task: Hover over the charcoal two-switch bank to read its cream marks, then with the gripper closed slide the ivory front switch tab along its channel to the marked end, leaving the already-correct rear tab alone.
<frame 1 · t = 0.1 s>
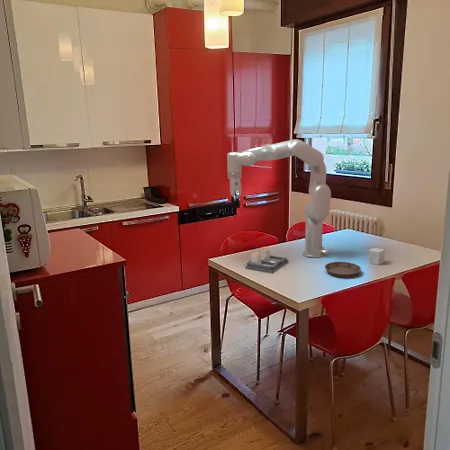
hand: (235, 206, 238), 31 cm above the table, fingers open, 9 cm apart
product box: (376, 263, 233), on the table
switch tab 2: (264, 253, 240), point 5 cm above the table, slide at 0.0 cm
switch bank: (267, 265, 235), on the table
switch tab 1: (256, 258, 232), point 5 cm above the table, slide at 0.0 cm
plant saucer: (342, 273, 220), on the table
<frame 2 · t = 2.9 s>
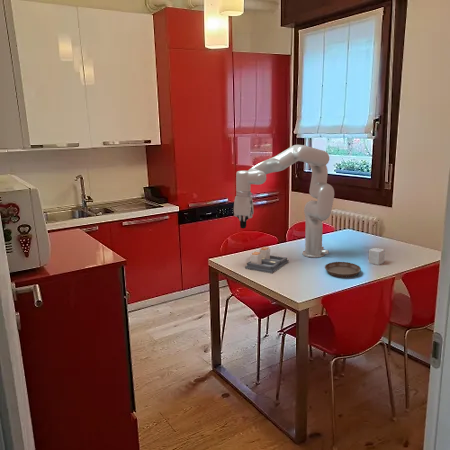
hand: (243, 227, 232), 21 cm above the table, fingers closed
nothing on the table moved.
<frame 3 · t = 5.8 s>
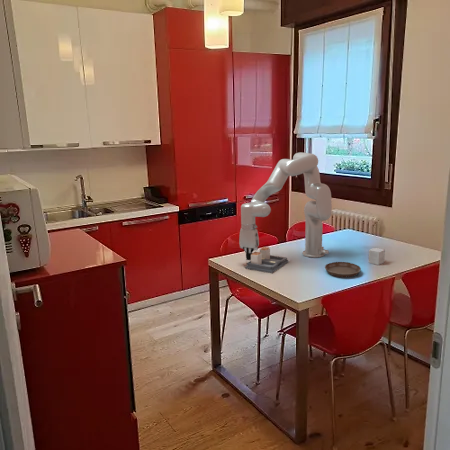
hand: (249, 259, 234), 4 cm above the table, fingers closed
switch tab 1: (256, 258, 232), point 5 cm above the table, slide at 0.1 cm, touching gripper
everything else where it was.
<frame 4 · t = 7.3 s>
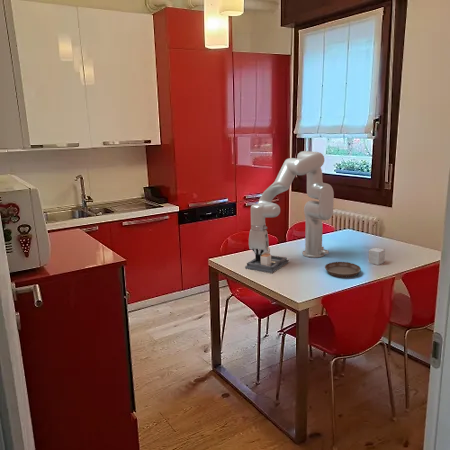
hand: (258, 260, 231), 4 cm above the table, fingers closed
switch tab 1: (265, 260, 229), point 5 cm above the table, slide at 5.9 cm, touching gripper
everything else where it was.
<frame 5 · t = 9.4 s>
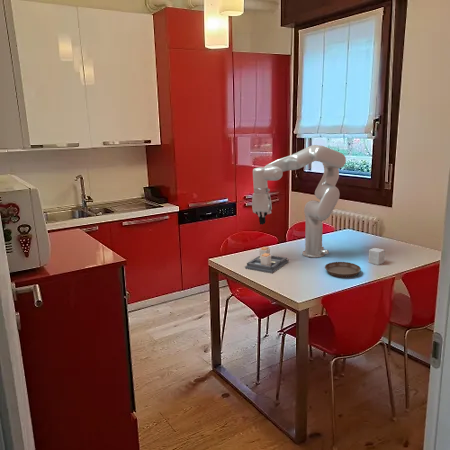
hand: (262, 223, 236), 22 cm above the table, fingers closed
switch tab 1: (266, 260, 229), point 5 cm above the table, slide at 6.0 cm
everything else where it was.
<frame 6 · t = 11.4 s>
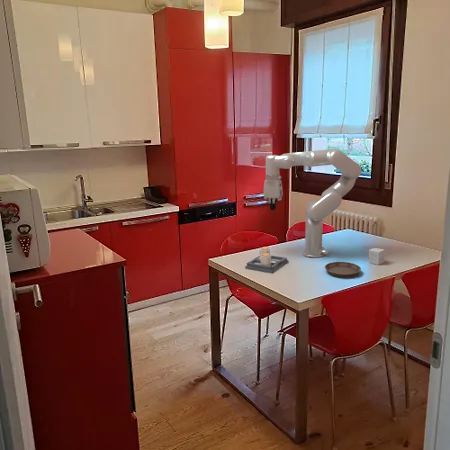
hand: (272, 209, 245), 27 cm above the table, fingers closed
nothing on the table moved.
at the end: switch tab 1 slide at 6.0 cm; switch tab 2 slide at 0.0 cm; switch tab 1 touching nothing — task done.
